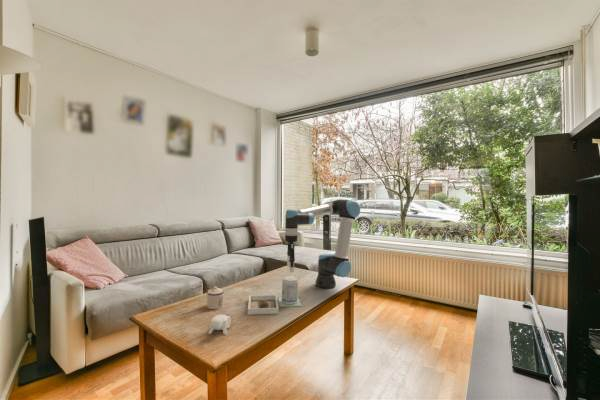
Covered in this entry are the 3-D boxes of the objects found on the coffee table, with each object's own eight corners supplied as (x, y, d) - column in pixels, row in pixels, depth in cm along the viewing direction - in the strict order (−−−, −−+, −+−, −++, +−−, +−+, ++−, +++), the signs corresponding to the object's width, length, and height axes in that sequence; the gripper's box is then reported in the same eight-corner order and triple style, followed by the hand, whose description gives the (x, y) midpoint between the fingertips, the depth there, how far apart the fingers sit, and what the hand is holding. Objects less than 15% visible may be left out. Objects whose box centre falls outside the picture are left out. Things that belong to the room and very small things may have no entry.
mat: (298, 298, 176) (298, 297, 176) (301, 306, 163) (301, 305, 163) (278, 298, 175) (278, 297, 175) (279, 307, 162) (279, 306, 162)
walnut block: (266, 308, 159) (266, 300, 159) (268, 312, 154) (268, 303, 154) (258, 309, 158) (258, 300, 158) (259, 313, 153) (259, 304, 153)
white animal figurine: (214, 332, 137) (203, 335, 123) (217, 313, 140) (206, 314, 126) (231, 333, 136) (221, 336, 122) (233, 314, 139) (224, 315, 125)
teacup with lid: (222, 309, 156) (222, 289, 156) (205, 310, 155) (205, 289, 154) (224, 301, 168) (224, 282, 168) (208, 301, 166) (209, 282, 166)
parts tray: (276, 299, 173) (276, 294, 173) (278, 313, 153) (278, 308, 153) (249, 299, 171) (249, 295, 171) (247, 314, 150) (247, 309, 150)
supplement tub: (279, 299, 172) (280, 276, 171) (294, 298, 175) (294, 275, 175) (284, 305, 163) (285, 281, 162) (299, 303, 166) (300, 279, 166)
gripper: (283, 231, 180) (282, 264, 181) (286, 238, 156) (286, 275, 156) (294, 232, 181) (294, 263, 182) (300, 238, 157) (299, 275, 157)
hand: (290, 269), depth 169 cm, fingers open, 13 cm apart
